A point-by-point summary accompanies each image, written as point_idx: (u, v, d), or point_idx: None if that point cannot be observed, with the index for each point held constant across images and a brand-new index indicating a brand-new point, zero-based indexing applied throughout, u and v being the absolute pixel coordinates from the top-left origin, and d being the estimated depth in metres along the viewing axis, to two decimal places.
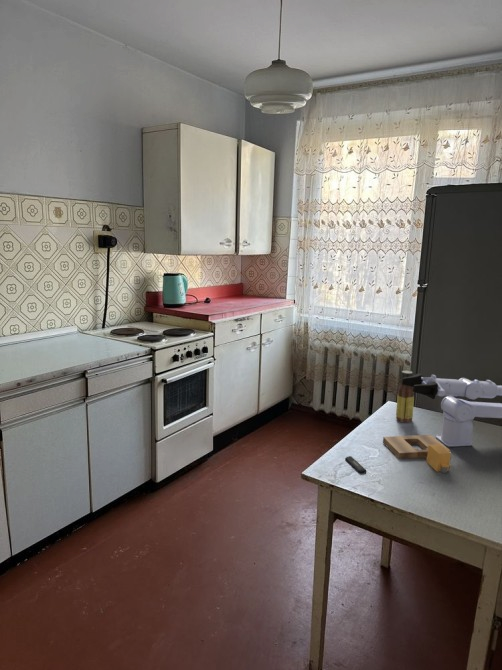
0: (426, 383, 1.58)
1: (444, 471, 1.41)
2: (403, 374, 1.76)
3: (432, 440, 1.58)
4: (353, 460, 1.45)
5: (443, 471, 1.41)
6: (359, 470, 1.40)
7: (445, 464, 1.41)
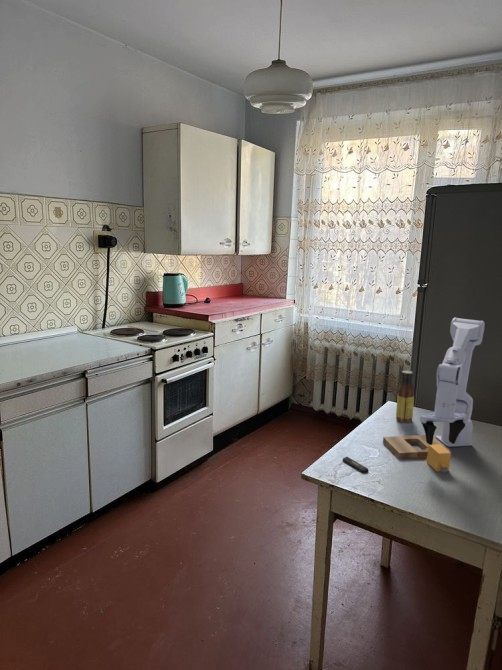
0: None
1: (444, 471, 1.41)
2: (403, 374, 1.76)
3: None
4: (352, 460, 1.45)
5: (443, 471, 1.41)
6: (362, 470, 1.40)
7: (445, 464, 1.41)
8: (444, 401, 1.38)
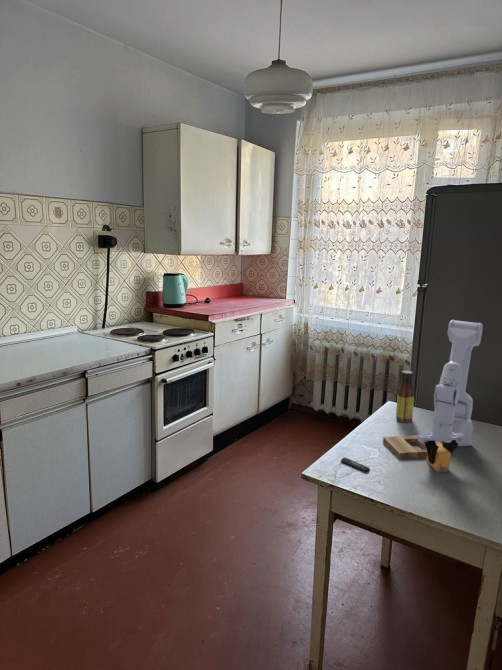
0: None
1: (444, 471, 1.41)
2: (403, 374, 1.76)
3: None
4: (351, 460, 1.45)
5: (443, 471, 1.41)
6: (364, 469, 1.40)
7: (445, 464, 1.41)
8: (441, 421, 1.39)
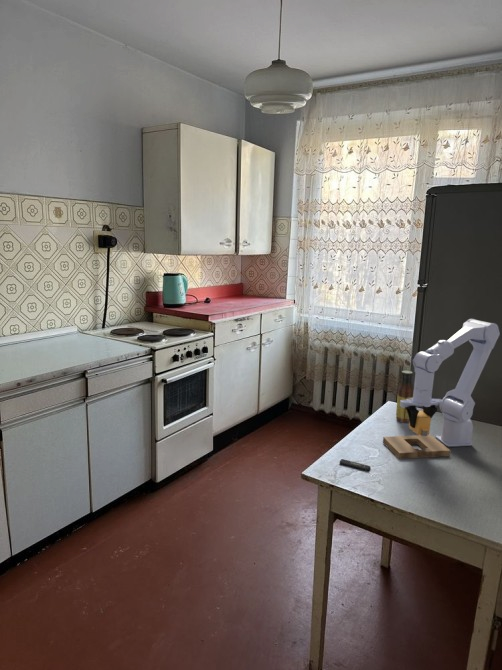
0: None
1: (424, 435, 1.50)
2: (403, 374, 1.76)
3: (432, 440, 1.58)
4: (350, 461, 1.44)
5: (423, 435, 1.50)
6: (366, 468, 1.41)
7: (425, 428, 1.50)
8: (417, 386, 1.50)
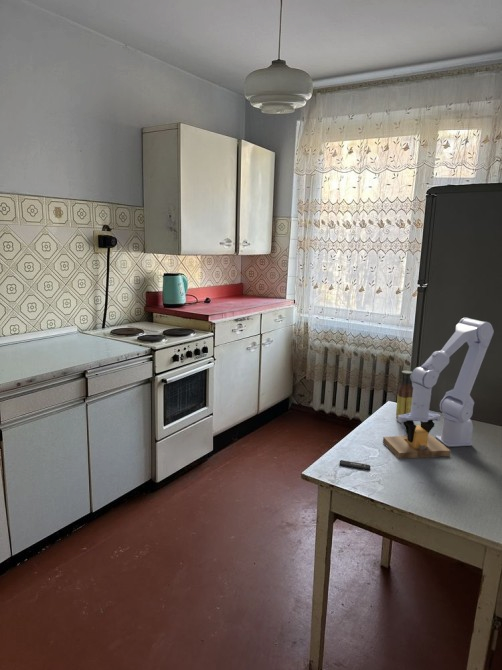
0: None
1: (422, 449, 1.52)
2: (403, 374, 1.76)
3: (432, 440, 1.58)
4: (349, 462, 1.44)
5: (421, 449, 1.52)
6: (367, 468, 1.41)
7: (423, 443, 1.51)
8: (414, 401, 1.51)
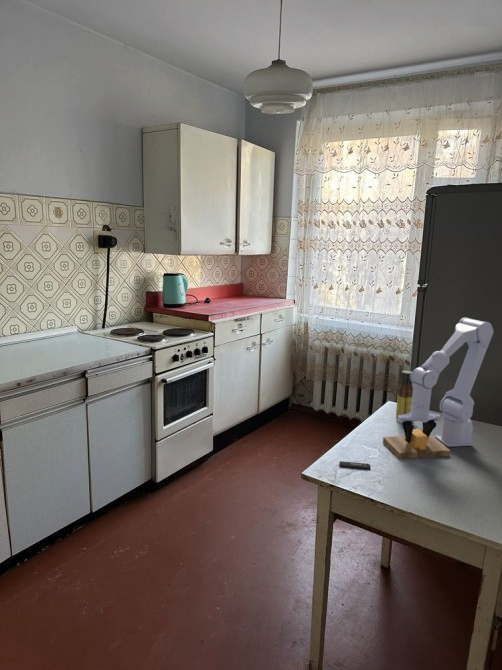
0: None
1: None
2: (403, 374, 1.76)
3: (432, 440, 1.58)
4: (349, 462, 1.43)
5: None
6: (368, 467, 1.41)
7: (422, 447, 1.52)
8: (414, 401, 1.51)
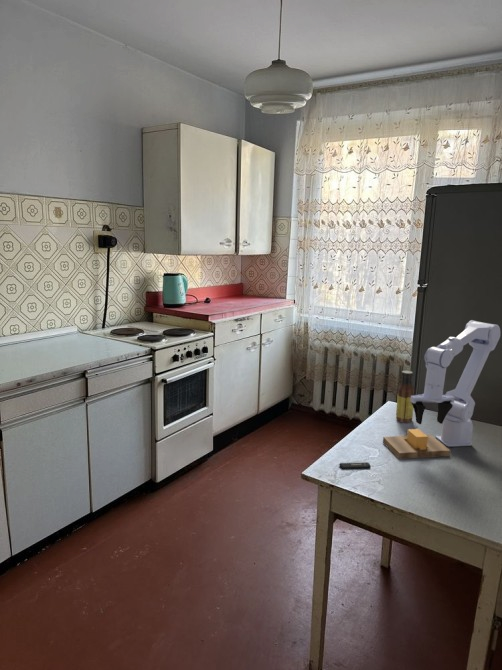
0: None
1: None
2: (403, 374, 1.76)
3: (432, 440, 1.58)
4: (349, 463, 1.43)
5: None
6: (368, 466, 1.42)
7: (422, 447, 1.52)
8: (429, 382, 1.48)
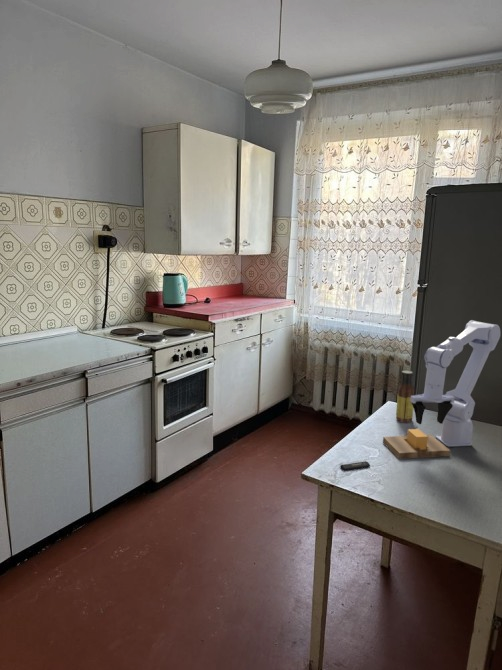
0: None
1: None
2: (403, 374, 1.76)
3: (432, 440, 1.58)
4: (350, 464, 1.42)
5: None
6: (368, 465, 1.43)
7: (422, 447, 1.52)
8: (429, 382, 1.48)
